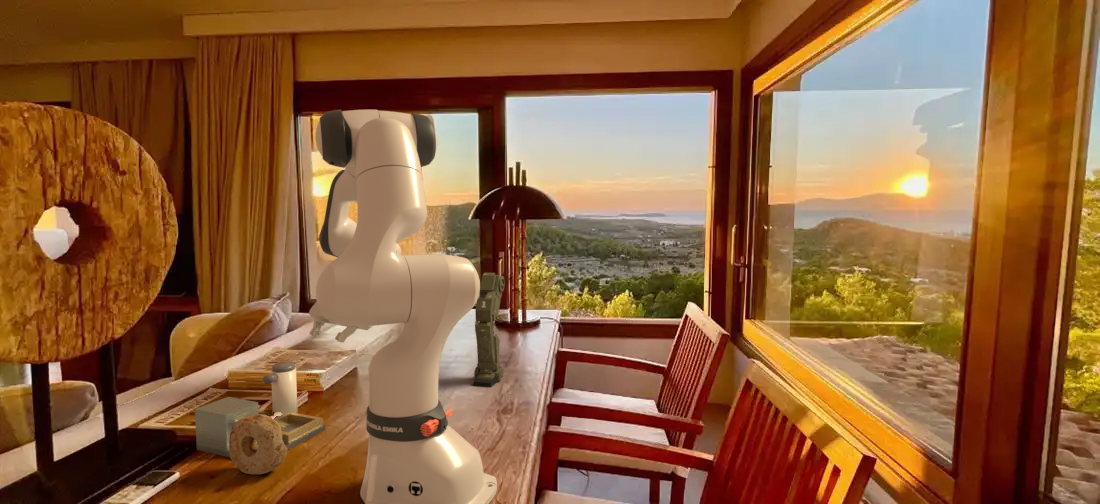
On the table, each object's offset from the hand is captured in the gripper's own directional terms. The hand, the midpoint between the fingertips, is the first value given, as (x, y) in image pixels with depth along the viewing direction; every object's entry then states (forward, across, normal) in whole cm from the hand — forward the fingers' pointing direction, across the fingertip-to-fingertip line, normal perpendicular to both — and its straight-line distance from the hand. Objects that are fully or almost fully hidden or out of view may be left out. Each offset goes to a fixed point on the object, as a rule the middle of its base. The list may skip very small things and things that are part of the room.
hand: (325, 338), depth 129 cm
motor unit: (+26, +9, -5) cm, 28 cm away
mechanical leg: (-12, +25, +33) cm, 43 cm away
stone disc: (+32, +20, -10) cm, 39 cm away
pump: (+19, 0, +2) cm, 19 cm away
